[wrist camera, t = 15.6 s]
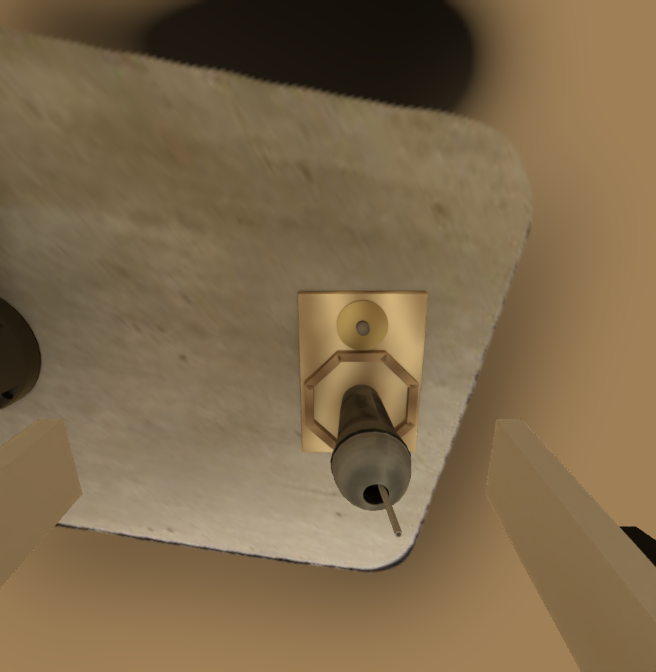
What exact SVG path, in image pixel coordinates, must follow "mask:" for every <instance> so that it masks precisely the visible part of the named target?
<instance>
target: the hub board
mask: <svg viewBox="0 0 656 672" xmlns="http://www.w3.org/2000/svg"><path fill="white" fill-rule="evenodd" d="M427 301H428V293H427V292H426V291H334V292H298V315H299V348H300V381H301V414H302V448H303V452H333V450H334V449H335V445H336V442H337V436H338V426H339V417H340V408H341V404H342V398H343V395H344V394H345V392H346V391H347V390H348V389H349V388H351V387H353V386H355V385H367V386H370V387H372V388H373V389H374V390H375V391H376V392H377V393H378V395H379V397H380V398H381V400H382V402H383V405H384V407H385V409H386V411H387V413H388V416H389V418H390V420H391V422H392V424H393V426H394V429H395V431H396V432H397V433H398V434H399V436H400V437H401V439H402V440H403V442H404V443H405V444H406V445H407V447H408V449H409V452H415V451H416V439H417V426H418V414H419V401H420V389H421V376H422V364H423V351H424V339H425V326H426V314H427Z"/></svg>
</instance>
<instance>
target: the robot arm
mask: <svg viewBox="0 0 656 672" xmlns="http://www.w3.org/2000/svg"><path fill="white" fill-rule="evenodd" d="M39 370H40V354H39V349H38V345H37V342H36V340H35V337H34V335H33V333H32V331H31V330H30V328H29V326H28V325H27V323H26V322H25V321H24V319H23V318H22V317H21V316H20V315H19V314H18V313H17V312H16V311H15V310H14V309H13V308H12V307H11V306H10V305H9V304H7V303H6V302H5V301H3V300H2V299H0V410H1V409H3V408H5V407H7V406H9V405H11V404H12V403H14V402H16V401H17V400H19V399H20V398H22V397H23V396H25V395H26V394H27V393H28V392H29V391H30V390H31V389H32V387H33V386H34V384H35V382H36V380H37V378H38V375H39ZM81 495H82V490H81V487H80V483H79V479H78V475H77V471H76V467H75V463H74V459H73V455H72V451H71V447H70V443H69V440H68V436H67V432H66V428H65V424H64V420H37V421H36V422H35V423H33V424H32V425H30V426H29V427H28V428H26V429H25V430H24V431H22V432H21V433H19V434H18V435H17V436H15V437H14V438H13V439H11V440H10V441H8V442H7V443H6V444H4V445H3V446H1V447H0V588H1V587H2V586H3V585H4V584H5V582H6V581H7V580H8V579H9V578H10V577H11V575H12V574H13V573H14V572H15V571H16V570H17V569H18V567H19V566H20V565H21V564H22V563H23V562H24V560H25V559H26V558H27V557H28V556H29V554H31V552H32V551H33V550H34V549H35V547H37V545H38V544H39V543H40V542H41V541H42V540H43V539H44V537H45V536H46V535H47V534H48V533H49V532H50V531H51V529H52V528H53V527H54V526H55V525H56V524H57V522H58V521H59V520H60V519H61V518H62V517H63V516H64V514H65V513H66V512H67V511H68V510H69V509H70V507H71V506H72V505H73V504H74V503H75V502H76V501H77V499H78V498H79V497H80V496H81ZM485 495H486V497H487V499H488V500H489V502H490V504H491V506H492V508H493V510H494V512H495V513H496V515H497V517H498V519H499V521H500V523H501V525H502V526H503V528H504V529H505V532H506V534H507V536H508V538H509V539H510V541H511V543H512V545H513V547H514V549H515V550H516V552H517V554H518V556H519V558H520V560H521V562H522V563H523V565H524V567H525V569H526V571H527V573H528V574H529V576H530V578H531V580H532V582H533V584H534V586H535V588H536V589H537V591H538V593H539V595H540V597H541V599H542V600H543V602H544V604H545V606H546V608H547V610H548V611H549V613H550V615H551V617H552V619H553V621H554V623H555V625H556V626H557V628H558V630H559V632H560V634H561V636H562V638H563V639H564V641H565V643H566V645H567V647H568V648H569V651H570V652H571V654H572V656H573V658H574V660H575V662H576V664H577V665H578V667H579V669H580V671H581V672H656V540H655V539H653V538H652V537H650V536H649V535H647V534H646V533H644V532H643V531H642V530H640V529H639V528H637V527H619V526H618V525H617V524H616V523H615V522H614V520H613V519H612V518H611V517H610V516H609V515H608V514H607V513H606V512H605V510H604V509H603V508H602V507H601V506H600V505H599V504H598V503H597V502H596V501H595V500H594V498H593V497H592V496H591V495H590V494H589V493H588V492H587V491H586V490H585V488H584V487H583V486H582V485H581V484H580V483H579V482H578V481H577V480H576V478H575V477H574V476H573V475H572V474H571V473H570V472H569V471H568V470H567V468H566V467H565V466H564V465H563V464H562V463H561V462H560V461H559V460H558V459H557V457H556V456H555V455H554V454H553V453H552V452H551V451H550V450H549V449H548V447H547V446H546V445H545V444H544V443H543V442H542V441H541V440H540V439H539V438H538V437H537V435H536V434H535V433H534V432H533V431H532V430H531V429H530V428H529V427H528V425H527V424H526V423H525V422H524V421H523V420H522V419H497V420H496V426H495V433H494V439H493V446H492V452H491V459H490V465H489V473H488V478H487V485H486V491H485Z"/></svg>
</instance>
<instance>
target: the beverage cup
mask: <svg viewBox="0 0 656 672" xmlns="http://www.w3.org/2000/svg"><path fill="white" fill-rule="evenodd" d="M331 469H332V474H333V476H334V480H335V483H336V485H337V487H338V488H339V490H340V492H341V494H342V495H343V496H344V497H345V498H346V499H347V500H348V501H349V502H350V503H352V504H353V505H355V506H357V507H359V508H361V509H364V510H370V511H376V510H383V509H386V510H387V513H388V516H389V519H390V522H391V525H392V527H393V530H394V533H395V536H396V537H401V536H402V531H401V529H400V526H399V523H398V521H397V518H396V515H395V513H394V510H393V507H392V505H394V504H395V503H396V502H398V501H399V500H400V499H401V497H402V496H403V495H404V494H405V492H406V490H407V488H408V485H409V482H410V478H411V454H410V452H409V449H408V447H407V445H406V444H405V443H404V442H403V440H402V439H401V437H400V436H399V434H398V433H397V432H396V431H395V429H394V426H393V424H392V422H391V420H390V418H389V416H388V413H387V411H386V409H385V407H384V405H383V402H382V400H381V398H380V397H379V395H378V393H377V392H376V391H375V390H374V389H373V388H372V387H370V386H367V385H355V386H353V387H351V388H349V389H348V390H347V391H346V392H345V394H344V395H343V398H342V404H341V408H340V417H339V426H338V436H337V442H336V445H335V449H334V450H333V453H332V458H331Z"/></svg>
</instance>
